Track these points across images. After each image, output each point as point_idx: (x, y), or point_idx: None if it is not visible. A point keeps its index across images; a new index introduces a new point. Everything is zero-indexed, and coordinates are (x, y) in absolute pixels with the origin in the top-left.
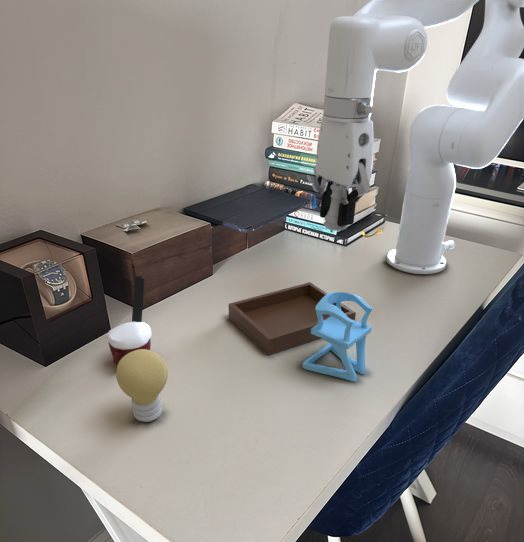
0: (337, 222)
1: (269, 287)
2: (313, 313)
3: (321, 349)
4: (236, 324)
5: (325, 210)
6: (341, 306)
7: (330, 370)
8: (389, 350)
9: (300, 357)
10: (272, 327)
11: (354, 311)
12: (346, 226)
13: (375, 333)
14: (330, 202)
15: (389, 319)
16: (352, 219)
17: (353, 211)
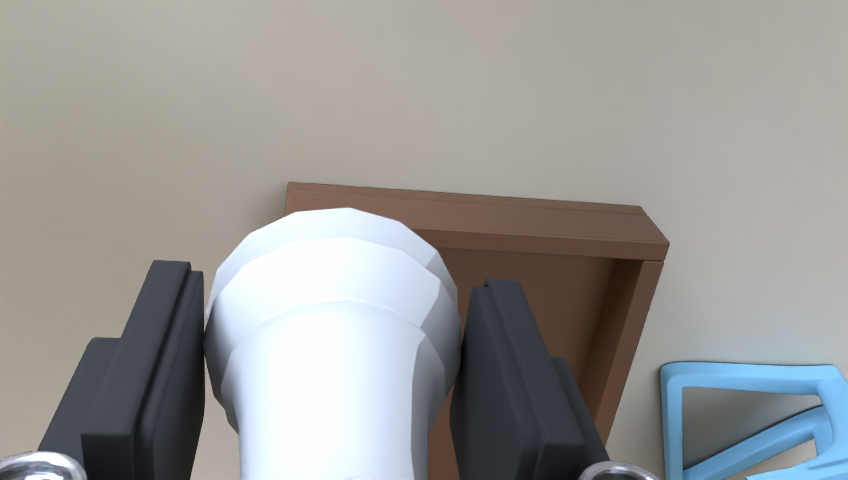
0: (451, 433)
1: (97, 280)
2: (467, 299)
3: (672, 421)
4: None
5: (193, 440)
6: (585, 256)
7: (763, 460)
8: (840, 211)
9: (625, 459)
10: (448, 466)
11: (659, 241)
12: (453, 290)
13: (735, 166)
14: (176, 455)
15: (721, 16)
16: (561, 361)
17: (589, 423)
